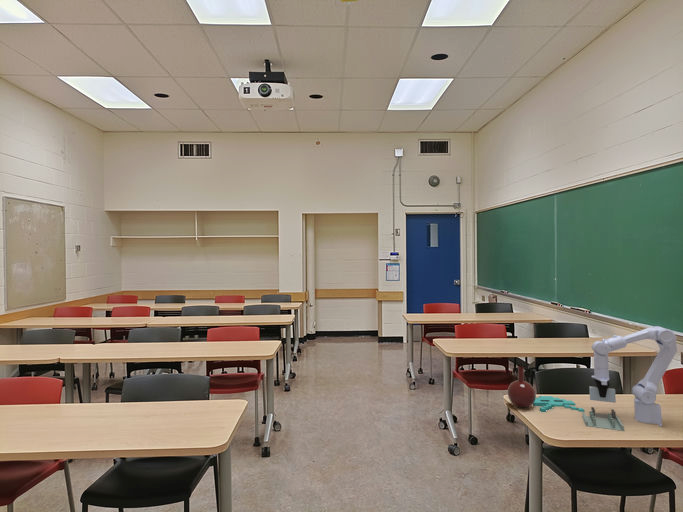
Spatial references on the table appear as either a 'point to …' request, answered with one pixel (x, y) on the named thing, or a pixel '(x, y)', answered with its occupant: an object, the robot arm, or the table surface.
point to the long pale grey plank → (609, 397)
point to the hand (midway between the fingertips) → (602, 396)
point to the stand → (603, 414)
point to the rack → (603, 422)
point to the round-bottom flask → (521, 391)
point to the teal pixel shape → (554, 403)
